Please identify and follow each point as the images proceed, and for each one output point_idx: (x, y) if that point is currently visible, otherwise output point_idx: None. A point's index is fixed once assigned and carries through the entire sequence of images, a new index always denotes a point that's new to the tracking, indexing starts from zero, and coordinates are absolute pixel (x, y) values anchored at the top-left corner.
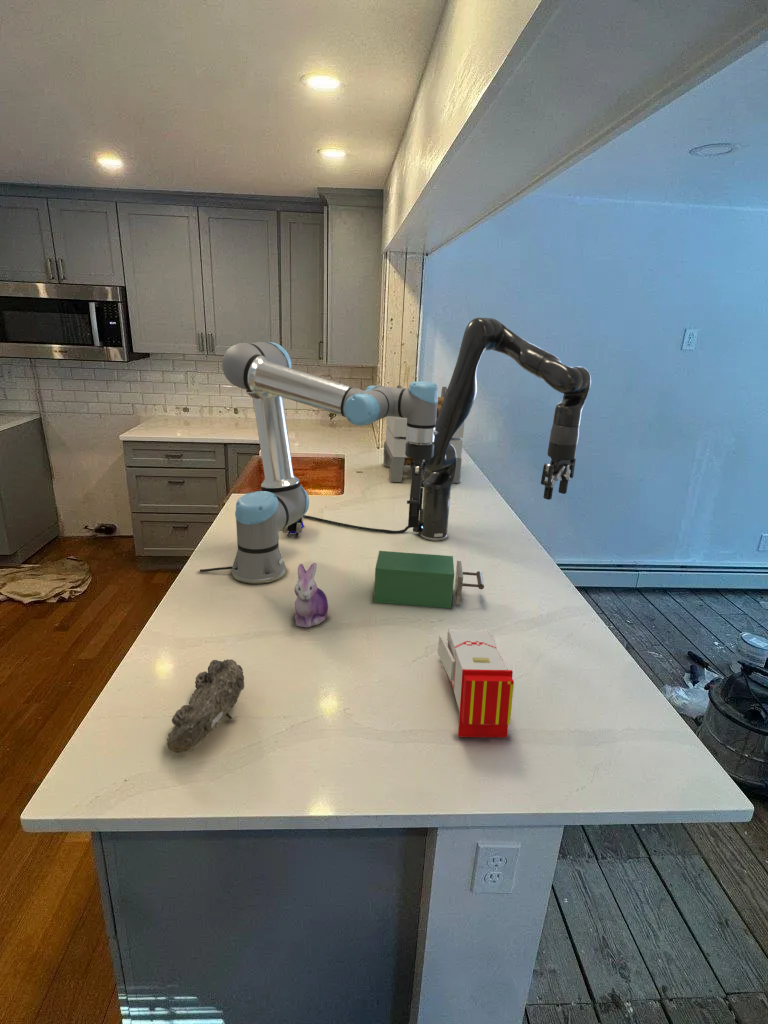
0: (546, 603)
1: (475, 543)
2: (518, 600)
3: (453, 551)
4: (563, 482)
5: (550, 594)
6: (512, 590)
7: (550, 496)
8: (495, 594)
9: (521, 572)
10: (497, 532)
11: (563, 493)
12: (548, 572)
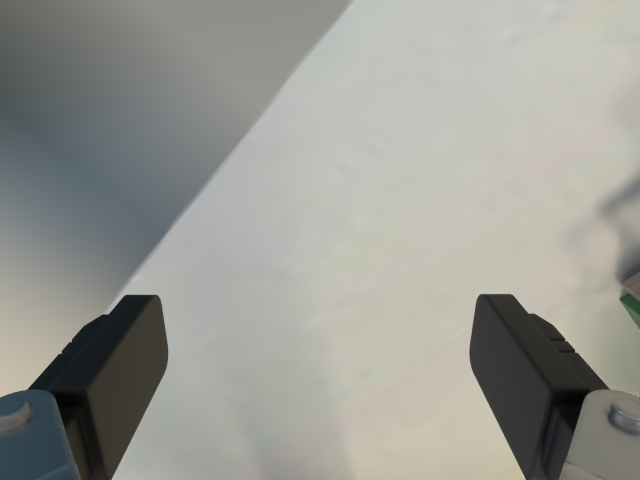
0: (509, 16)
1: (263, 428)
2: (555, 104)
3: (372, 433)
4: (108, 422)
5: (427, 46)
6: (496, 162)
7: (524, 312)
8: (564, 184)
9: (340, 218)
10: None
11: (159, 308)
12: (259, 153)
